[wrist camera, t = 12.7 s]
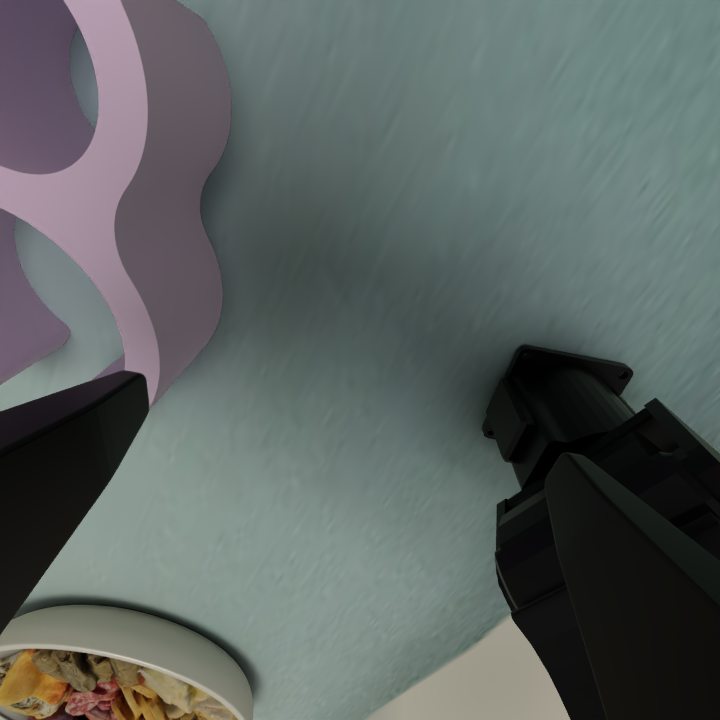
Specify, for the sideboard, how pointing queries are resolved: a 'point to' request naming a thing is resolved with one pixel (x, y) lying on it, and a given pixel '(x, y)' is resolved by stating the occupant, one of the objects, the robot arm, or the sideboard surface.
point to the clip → (113, 175)
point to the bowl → (115, 669)
